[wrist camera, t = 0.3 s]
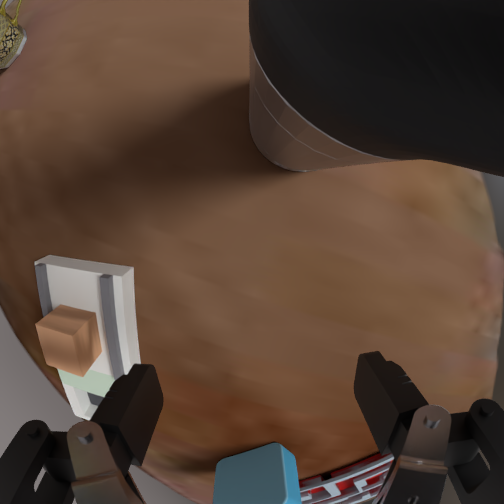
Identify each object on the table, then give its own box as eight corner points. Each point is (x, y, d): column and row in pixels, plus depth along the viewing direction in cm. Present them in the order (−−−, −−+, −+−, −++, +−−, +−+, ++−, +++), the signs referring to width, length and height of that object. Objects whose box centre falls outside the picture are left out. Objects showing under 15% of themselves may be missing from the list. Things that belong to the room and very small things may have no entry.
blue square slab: (232, 470, 36) (229, 525, 25) (216, 459, 35) (210, 518, 24) (294, 450, 35) (303, 511, 23) (280, 439, 34) (288, 504, 22)
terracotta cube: (60, 304, 25) (35, 324, 20) (95, 312, 25) (72, 335, 20) (68, 341, 26) (46, 364, 21) (102, 351, 26) (82, 377, 21)
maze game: (411, 432, 36) (418, 443, 33) (413, 466, 40) (417, 475, 37) (240, 491, 39) (240, 503, 36) (276, 514, 44) (277, 523, 41)
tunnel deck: (49, 254, 26) (29, 264, 23) (133, 267, 27) (117, 280, 23) (82, 403, 33) (72, 419, 29) (150, 423, 33) (144, 442, 29)
